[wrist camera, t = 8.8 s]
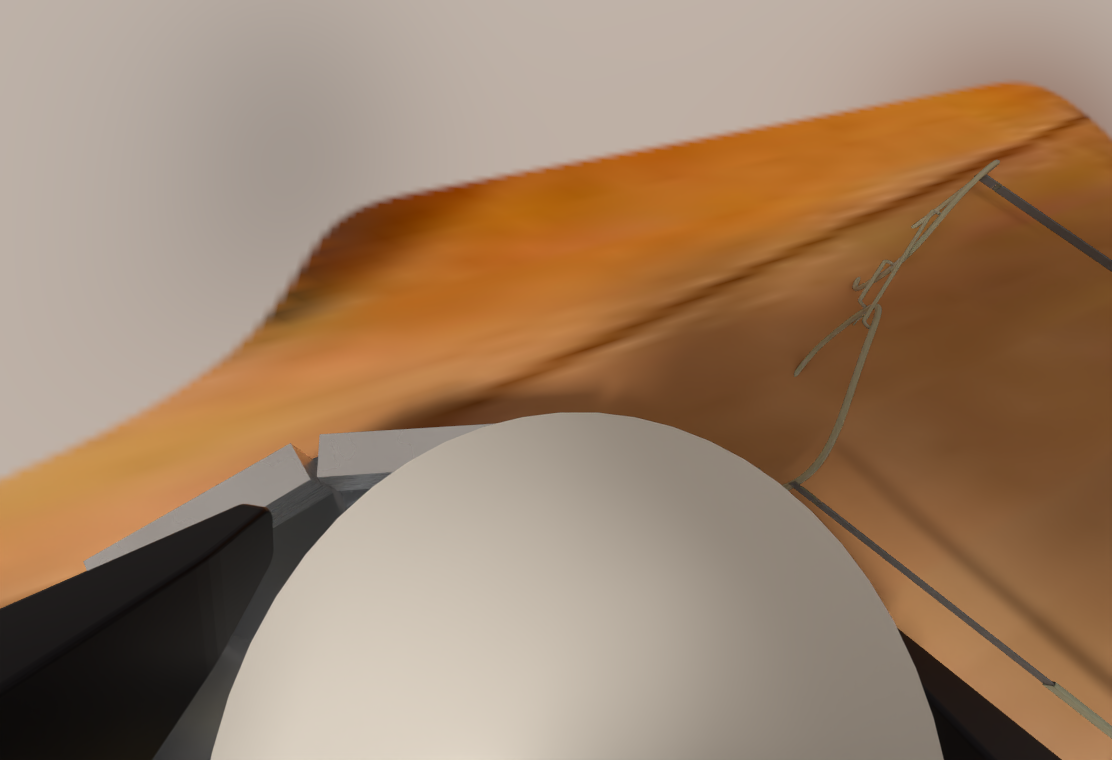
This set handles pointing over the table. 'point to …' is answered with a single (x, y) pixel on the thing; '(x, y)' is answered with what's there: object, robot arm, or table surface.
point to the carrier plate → (278, 540)
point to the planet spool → (577, 615)
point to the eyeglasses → (866, 310)
